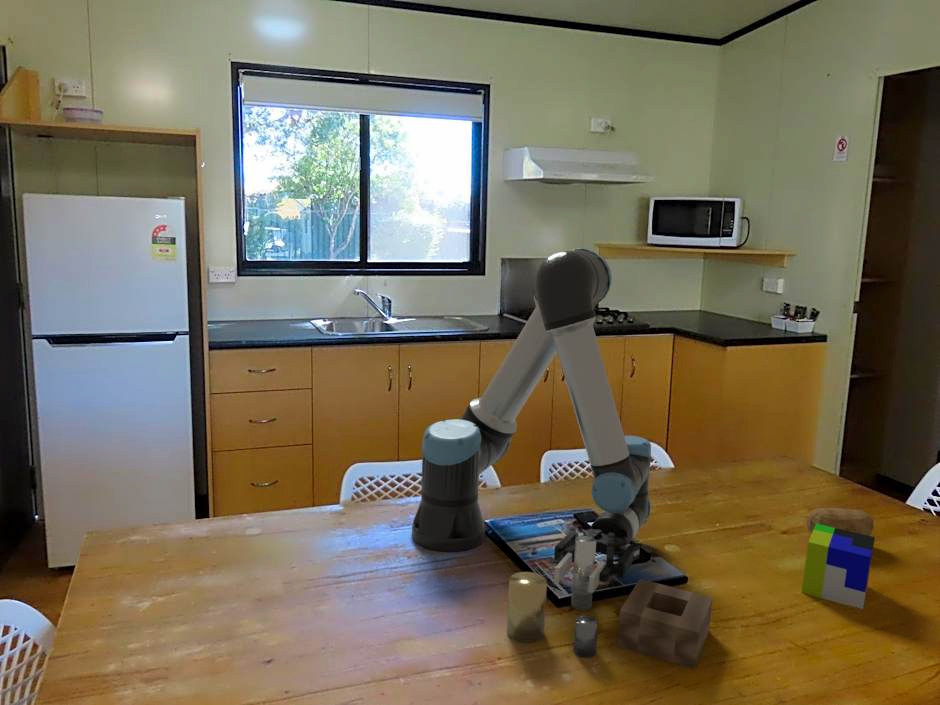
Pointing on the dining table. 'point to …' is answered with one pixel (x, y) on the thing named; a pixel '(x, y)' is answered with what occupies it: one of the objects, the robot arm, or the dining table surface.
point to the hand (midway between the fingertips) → (573, 580)
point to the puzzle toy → (838, 565)
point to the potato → (841, 520)
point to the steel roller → (583, 572)
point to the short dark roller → (585, 636)
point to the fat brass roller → (526, 607)
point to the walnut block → (665, 623)
